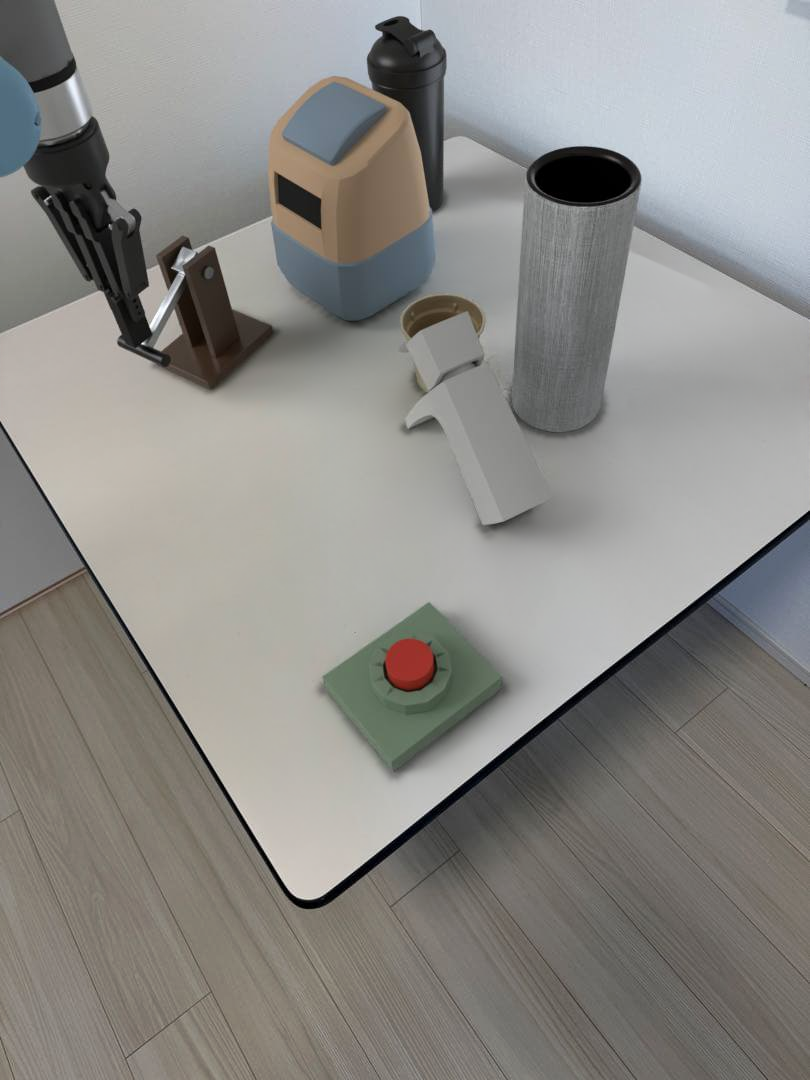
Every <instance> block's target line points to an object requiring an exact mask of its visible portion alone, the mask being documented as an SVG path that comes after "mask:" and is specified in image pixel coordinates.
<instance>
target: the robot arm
mask: <svg viewBox="0 0 810 1080" xmlns="http://www.w3.org/2000/svg"><path fill="white" fill-rule="evenodd" d="M93 113H94V109H93V106H92V104H91V100H90V98H89V95H88V93H87V90H86V87H85V85H84V82H83V79H82V77H81V73H80V69H79V68H78V66H77V62H76V58H75V55H74V53H73V51H72V49H71V45H70V42H69V40H68V37H67V34H66V30H65V27H64V25H63V21H62V19H61V16H60V13H59V10H58V7H57V4H56V2H55V0H0V179H1V178H4V177H8V176H10V175H12V174H14V173H16V172H17V171H19V170H20V169H22V168H23V169H24V171H25V174H26V175H27V177H28V179H30V180H31V182H33V183H34V184H36V185H38V186H36V187H34V188H32V189H31V190H30V194H31V196H32V197H33V199H34V200H35V202H36V203H37V204H38V205H39V207H40V208H41V209H42V211H43V212H44V213H45V214H46V217H47V218H48V221H50V223H51V225H52V226H53V228H54V230H55V232H56V233H57V235H58V237H59V238H60V240H61V242H62V243H63V246H64V247H65V249H66V251H67V252H68V254H69V255H70V257H71V259H72V261H73V262H74V264H75V266H76V268H77V270H78V271H79V272H80V275H81V276H82V277H83V279H84V281H86V282H91V281H93V282H94V284H95V286H96V288H97V289H98V291H100V292H101V293H103V294H104V297H105V299H106V302H107V304H108V306H109V309H110V310H111V312H112V315H113V317H114V320H115V321H116V324H117V326H118V329H119V331H120V335H122V336H123V338H124V341H125V343H126V344H127V345H129V346H131V347H133V348H137V347H138V346H139V345H140V344H142V343H143V342H144V341H145V340H147V339H148V338H149V337H150V336H151V335H153V334H152V332H151V329H150V324H149V322H148V319H147V316H146V311H145V308H144V306H143V304H142V301H141V298H140V294H141V293H142V292H144V291H145V290H146V289H147V288H149V287H150V282H149V276H148V271H147V265H146V259H145V254H144V248H143V242H142V237H141V232H140V229H141V225H142V219H143V218H142V215H141V213H140V212H139V210H137V209H136V208H131V209H130V210H126V209H125V208H124V207H123V206H122V205H121V204H120V203H119V202H118V201H117V194H116V192H115V189H114V188H113V186H112V185H111V184H110V182H109V179H108V178H107V176H106V175H107V173H106V172H107V168H108V165H109V163H110V152H109V149H108V147H107V144H106V140H105V138H104V135H103V132H102V129H101V127H100V123H99V122H98V120H97V118H96V117H95V116H94V115H93Z"/></svg>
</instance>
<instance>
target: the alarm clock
mask: <svg viewBox="0 0 810 1080" xmlns="http://www.w3.org/2000/svg"><path fill="white" fill-rule="evenodd" d="M267 179H268V187H269V188H268V189H269V197H270V208H271V209H270V210H271V218H272V219H271V223H270V226H271V232H272V238H273V245H274V252H275V256H276V257H275V258H276V263H277V264H276V265H277V266H278V268H279V270H280V271H281V273H282V274H283V276H284V278H285V279H286V280H287V282H288V283H289V285H291V286H292V287H294V288H295V289H296V290H298V291H299V292H300V293H302V294H304V296H306V297H308V298H309V299H311V300H312V301H313V302H315V303H316V304H318V305H320V307H322V308H323V309H325V310H326V311H328V312H329V313H331V314H333V315H334V316H335V317H337V318H338V319H342V320H343V321H344V320H345V321H362V320H364V319H367V318H370V317H372V316H374V315H375V314H377V313H379V312H380V311H382V310H384V309H385V308H387V307H388V306H390V305H391V304H393V303H395V302H396V301H398V300H399V299H401V298H403V297H404V296H406V295H408V294H409V293H411V292H412V291H415V290H416V289H418V288H419V287H420V286H421V284H422V283H423V282H424V281H425V280H426V279H428V277H430V275H431V274H432V272H433V268H434V266H435V263H436V242H435V241H436V240H435V230H434V228H435V227H434V217H433V212H432V209H431V208H430V207H429V201H428V194H427V188H426V182H425V176H424V169H423V163H422V157H421V151H420V148H419V144H418V141H417V137H416V134H415V130H414V127H413V123H412V120H411V116H410V113H409V111H408V110H407V109H406V108H405V107H404V106H403V105H402V104H401V103H400V102H398V101H396V100H394V99H392V98H389V97H387V96H385V95H383V94H381V93H379V92H377V91H374V90H372V88H370V87H368V86H366V85H363V84H361V83H359V82H358V81H355V80H353V79H351V78H348V77H345V76H339V75H338V76H337V75H332V76H329V77H328V76H327V77H325V78H323V79H320V80H318V81H317V82H316V83H314V84H313V85H311V86H310V87H308V88H307V90H306V91H304V93H303V94H302V95H301V96H300V97H299V98H298V99H296V101H295V102H294V103H293V104H292V105H291V106H290V107H289V108H288V109H287V110H286V111H285V112H284V113H283V115H281V116H280V118H279V119H278V120H277V122H276V123H275V125H274V126H273V127H272V129H271V132H270V137H269V142H268V163H267Z"/></svg>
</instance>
